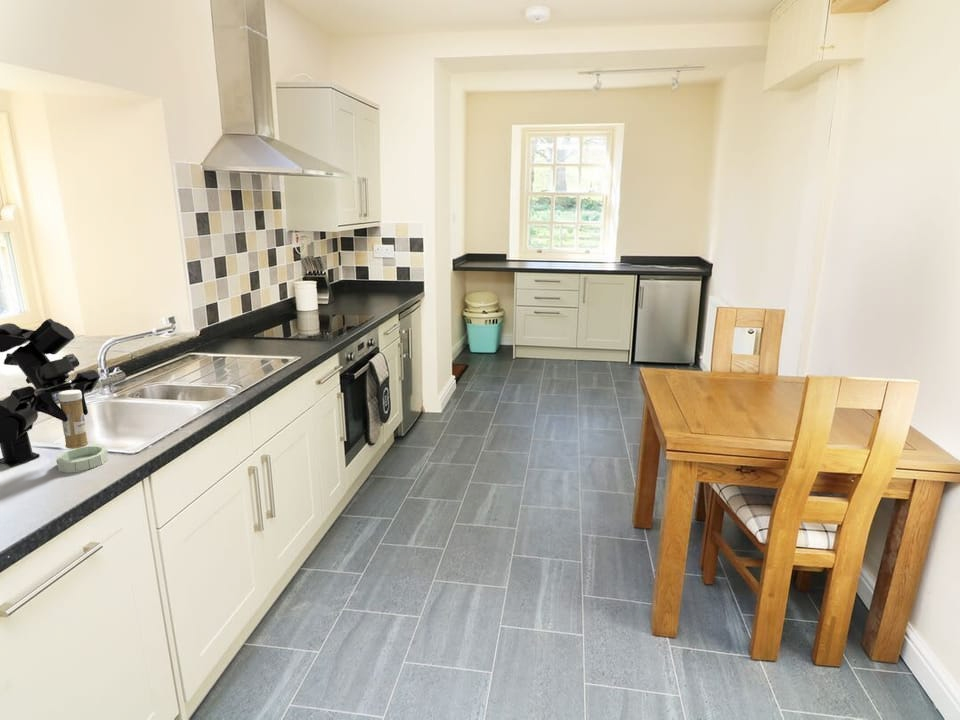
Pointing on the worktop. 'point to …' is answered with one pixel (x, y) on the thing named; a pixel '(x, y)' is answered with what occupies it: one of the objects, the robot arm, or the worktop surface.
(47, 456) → the worktop surface
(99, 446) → the dish
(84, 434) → the sprinkles bottle
